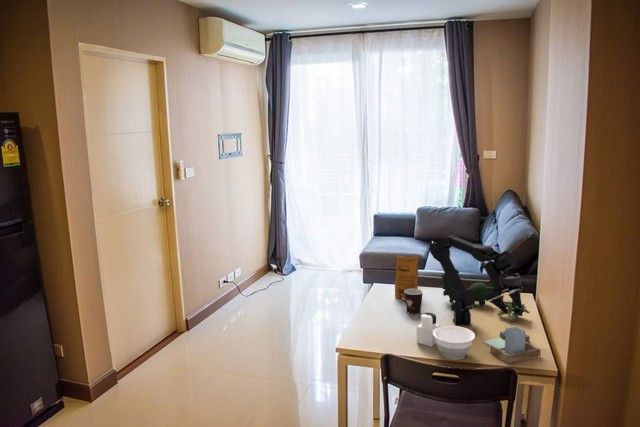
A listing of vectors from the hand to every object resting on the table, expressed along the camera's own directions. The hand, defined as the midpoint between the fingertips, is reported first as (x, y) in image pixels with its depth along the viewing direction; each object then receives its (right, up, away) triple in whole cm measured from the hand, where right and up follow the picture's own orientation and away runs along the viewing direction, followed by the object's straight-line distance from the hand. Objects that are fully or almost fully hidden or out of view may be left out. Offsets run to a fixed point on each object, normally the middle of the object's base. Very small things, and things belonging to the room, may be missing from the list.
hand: (514, 310), depth 198 cm
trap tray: (+2, -13, +5) cm, 14 cm away
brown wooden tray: (-3, -15, -8) cm, 17 cm away
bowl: (-26, -16, -6) cm, 31 cm away
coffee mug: (-34, -8, +40) cm, 53 cm away
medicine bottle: (-33, -14, +6) cm, 37 cm away
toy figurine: (-5, -6, +46) cm, 47 cm away
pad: (-6, -14, +1) cm, 15 cm away
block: (-3, -15, -8) cm, 17 cm away
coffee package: (-33, -5, +59) cm, 68 cm away
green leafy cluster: (+9, -9, +26) cm, 29 cm away
